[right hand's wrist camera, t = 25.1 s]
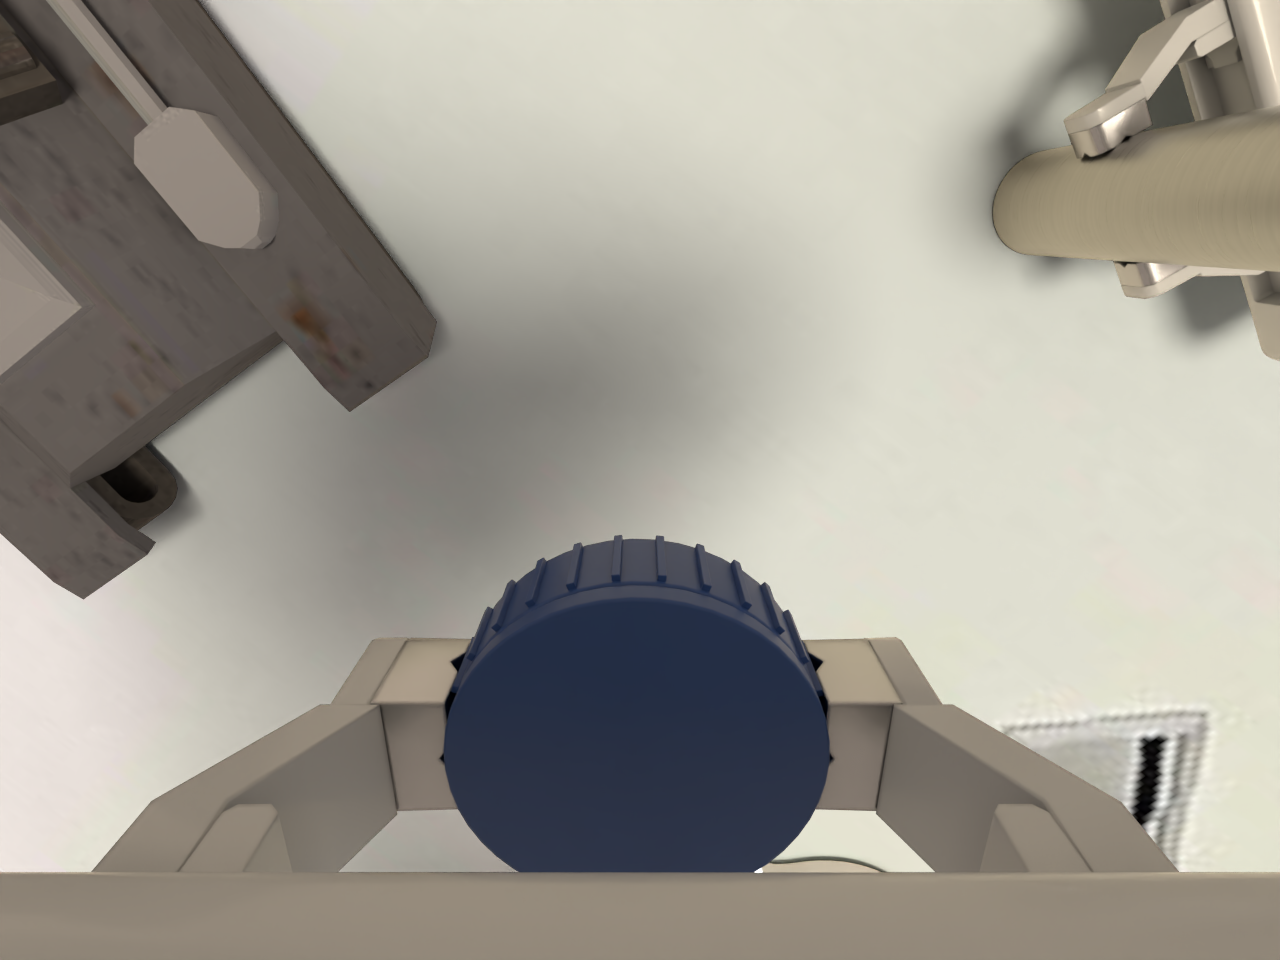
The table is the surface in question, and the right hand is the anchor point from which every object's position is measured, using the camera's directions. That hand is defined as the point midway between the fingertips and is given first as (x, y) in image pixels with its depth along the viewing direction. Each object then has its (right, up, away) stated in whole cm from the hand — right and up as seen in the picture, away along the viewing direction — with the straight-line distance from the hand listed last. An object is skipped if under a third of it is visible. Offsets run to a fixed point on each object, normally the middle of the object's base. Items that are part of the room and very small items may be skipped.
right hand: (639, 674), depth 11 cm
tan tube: (+18, +15, +19) cm, 30 cm away
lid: (0, -1, -2) cm, 2 cm away
